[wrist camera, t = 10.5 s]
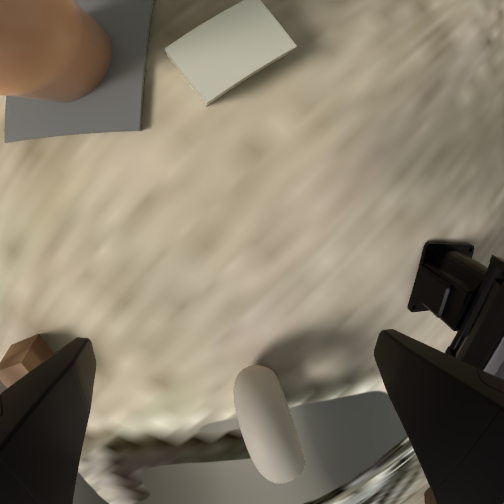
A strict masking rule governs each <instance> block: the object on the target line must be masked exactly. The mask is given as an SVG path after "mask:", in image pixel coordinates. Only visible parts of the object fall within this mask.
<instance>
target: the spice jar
mask: <svg viewBox="0 0 504 504" xmlns="http://www.w3.org/2000/svg"><path fill="white" fill-rule="evenodd" d="M111 59H112V43H111V39H110V37H109V35H108V33H107V32H106V31H105V30H104V29H103V28H102V27H101V26H100V25H99V24H98V23H97V22H96V21H95V20H94V19H93V18H92V17H91V16H90V15H89V14H88V13H87V12H86V11H85V10H84V9H83V8H82V7H81V6H80V5H79V4H78V3H77V2H76V1H75V0H0V95H5V96H15V97H24V98H32V99H40V100H47V101H54V102H71V101H75V100H78V99H80V98H82V97H84V96H86V95H87V94H89V93H90V92H91V91H92V90H94V89H95V88H96V87H97V86H98V84H99V83H100V82H101V81H102V79H103V78H104V76H105V75H106V73H107V71H108V68H109V66H110V63H111Z"/></svg>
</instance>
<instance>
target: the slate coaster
mask: <svg viewBox="0 0 504 504" xmlns="http://www.w3.org/2000/svg"><path fill="white" fill-rule="evenodd" d="M75 1H76V2H77V3H78V4H79V5H80V6H81V7H82V8H83V9H84V10H85V11H86V12H87V13H88V14H89V15H90V16H91V17H92V18H93V19H94V20H95V21H96V22H97V23H98V24H99V25H100V26H101V27H102V28H103V29H104V30H105V31H106V32H107V33H108V35H109V37H110V39H111V43H112V59H111V63H110V66H109V68H108V71H107V73H106V75H105V76H104V78H103V79H102V81H101V82H100V83H99V84H98V86H97V87H96V88H95V89H94V90H92V91H91V92H90V93H89V94H87V95H86V96H84V97H82V98H80V99H78V100H75V101H71V102H54V101H47V100H40V99H32V98H24V97H15V96H6V110H5V143H8V142H15V141H21V140H29V139H36V138H45V137H54V136H63V135H74V134H87V133H102V132H121V131H141V123H142V105H143V91H144V78H145V67H146V57H147V48H148V40H149V32H150V24H151V17H152V11H153V4H154V0H75Z"/></svg>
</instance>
